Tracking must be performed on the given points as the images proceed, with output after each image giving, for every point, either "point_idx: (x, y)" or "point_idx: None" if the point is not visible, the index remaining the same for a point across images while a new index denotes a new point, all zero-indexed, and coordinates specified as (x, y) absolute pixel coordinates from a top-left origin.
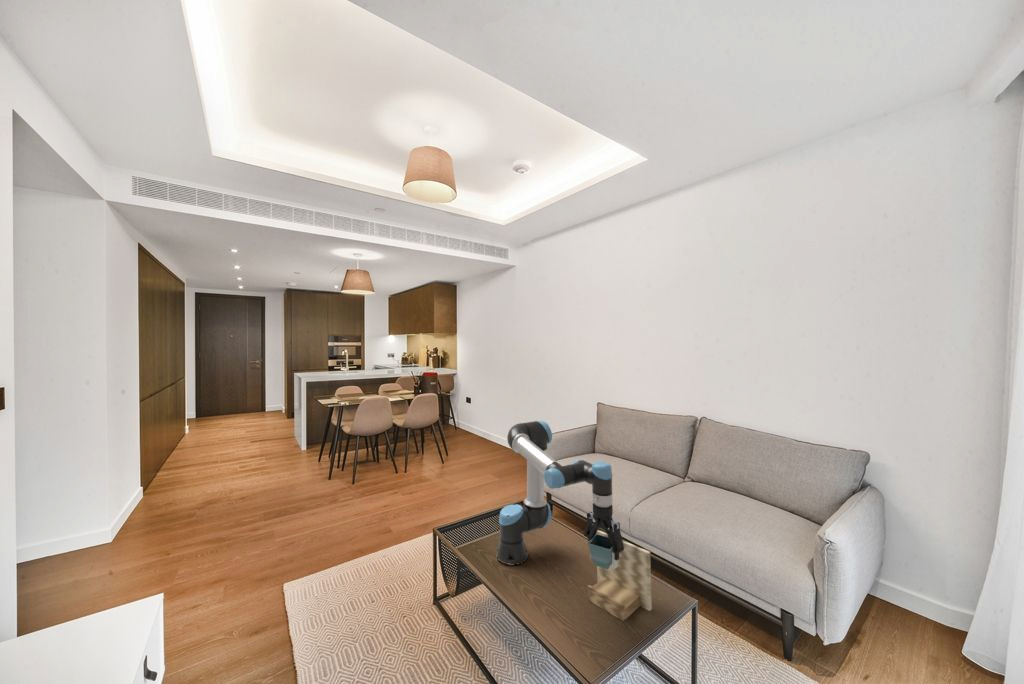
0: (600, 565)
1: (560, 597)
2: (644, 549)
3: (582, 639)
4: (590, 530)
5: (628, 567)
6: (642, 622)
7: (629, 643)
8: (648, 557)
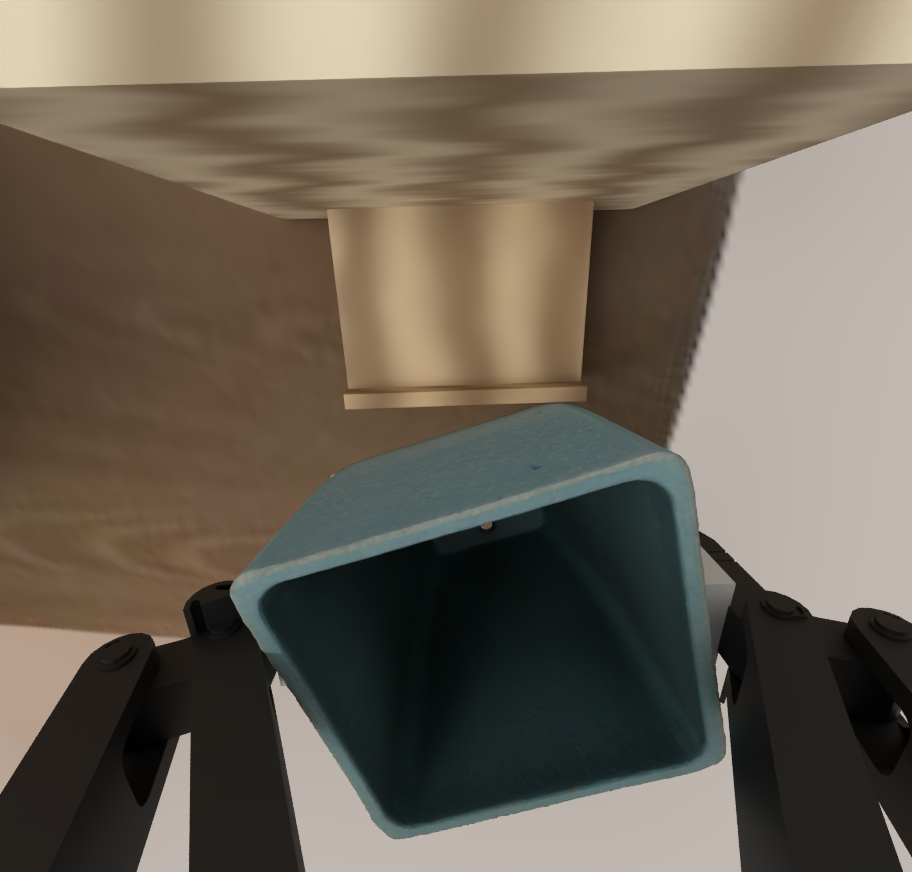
0: (493, 564)
1: (268, 473)
2: None
3: None
4: (119, 730)
5: (548, 169)
6: (635, 317)
7: None
8: None
